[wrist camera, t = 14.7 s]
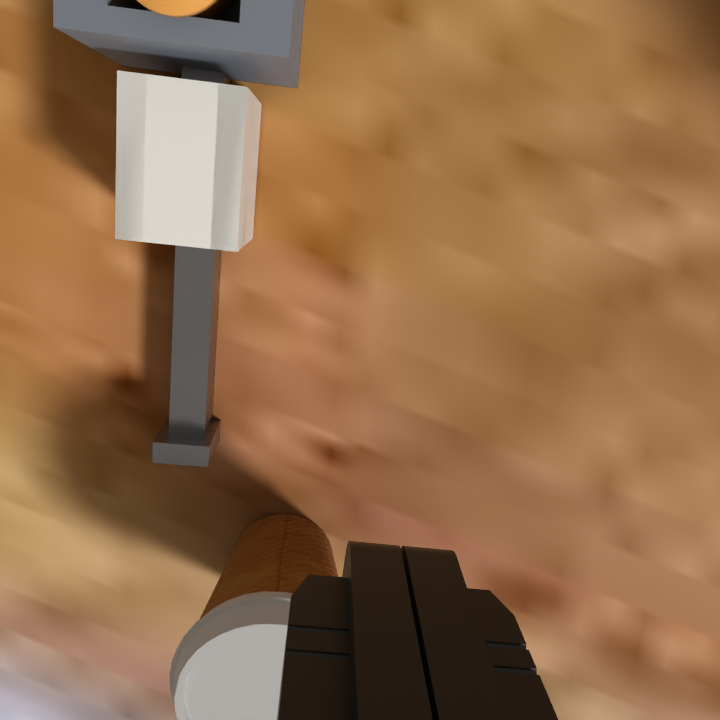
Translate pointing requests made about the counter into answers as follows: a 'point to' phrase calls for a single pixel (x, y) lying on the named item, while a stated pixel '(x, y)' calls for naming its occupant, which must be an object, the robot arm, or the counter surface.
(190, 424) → the rail
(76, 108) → the counter surface
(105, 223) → the counter surface
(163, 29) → the grey hollow block
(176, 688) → the disposable coffee cup
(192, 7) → the plunger
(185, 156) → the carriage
